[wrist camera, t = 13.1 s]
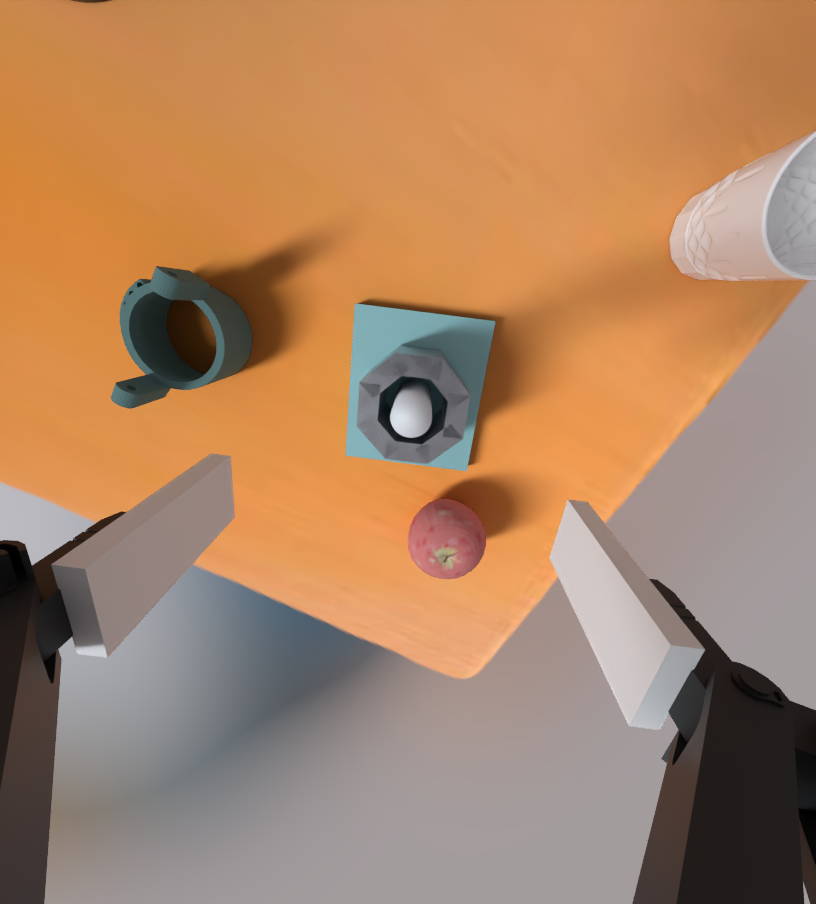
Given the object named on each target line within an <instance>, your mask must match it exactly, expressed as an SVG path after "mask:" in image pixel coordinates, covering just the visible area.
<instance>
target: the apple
mask: <svg viewBox="0 0 816 904" xmlns="http://www.w3.org/2000/svg"><path fill="white" fill-rule="evenodd" d="M485 547H486V534H485V530H484V526H483V524H482V522H481V520H480V519H479V517H478V516H477V514H476V513H474V512H473V511H472V510H471V509H470V508H469V507H468V506H466V505H464V504H462V503H460V502H457V501H454V500H450V499H438V500H435V501H432V502H430V503H428V504H427V505H426V506H424V507H423V508H422V509H421V510H420V511H419V512H418V513H417V514H416V516H415V517H414V519H413V521H412V523H411V525H410V530H409V535H408V549H409V552H410V555H411V558H412V560H413V561H414V562H415V564H416V565H417V566H418V567H419V568H420V569H421V570H422V571H423V572H425V573H427V574H429V575H430V576H433V577H436V578H439V579H455V578H458V577H461V576H464V575H465V574H467V573H468V572H470V571H472V570H473V569H474V568H475V567H476V566H477V565H478V563H479V562H480V560H481V558H482V556H483V554H484V550H485Z"/></svg>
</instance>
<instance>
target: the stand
mask: <svg viewBox="0 0 816 904" xmlns="http://www.w3.org/2000/svg"><path fill="white" fill-rule="evenodd" d="M495 322H496V321H491V320H483V319H475V318H468V317H460V316H452V315H444V314H436V313H428V312H420V311H412V310H405V309H397V308H389V307H381V306H373V305H365V304H356V303H355V311H354V327H353V343H352V360H351V376H350V392H349V409H348V425H347V442H346V456H354V457H362V458H369V459H377V460H385V461H393V462H400V463H408V464H416V465H424V466H431V467H439V468H447V469H454V470H462V471H467V467H468V462H469V457H470V452H471V446H472V441H473V436H474V431H475V426H476V420H477V415H478V410H479V405H480V400H481V395H482V389H483V384H484V379H485V374H486V369H487V363H488V358H489V353H490V348H491V343H492V338H493V332H494V327H495ZM400 345H408V346H417V347H425V348H434V349H441V351H442V352H443V354H444V355H445V356H446V358H447V359H448V360H449V362H450V363H451V364H452V366H453V367H454V368H455V370H456V371H457V372H458V374H459V375H460V376H461V378H462V379H463V380H464V382H465V384H466V386H467V389H468V391H469V393H470V395H471V396H470V402H469V408H468V413H467V419H466V425H465V431H464V436H463V440H461V441H460V442H458V443H457V444H455V445H454V446H453V447H451V448H450V449H448V450H447V451H446V452H444V453H443V454H441V455H440V456H438V457H437V458H436V459H434V460H433V461H431V462H430V463H429V464H424V463H415V462H407V461H399V460H391V459H385V458H384V457H383V456H382V455H381V454H380V452H379V451H378V450H377V449H376V448H375V447H374V446H373V444H372V443H371V442H370V441H369V440H368V439H367V438H366V436H365V435H364V434H363V433H362V432H361V431H360V430H359V428H358V427H357V412H358V396H359V382H360V381H361V380H362V379H363V378H364V376H365V375H366V374H367V373H368V372H369V371H370V370H371V369H372V368H373V367H375V366H376V365H377V364H378V363H379V362H381V361H382V360H383V359H384V358H385V357H387V356H388V355H389V354H390V353H391V352H393V351H394V350H395V349H396V348H397V347H399V346H400ZM386 403H387V404H388V405H389V407H390V408H391V409H392V410H391V414H390V421H391V424H392V426H393V428H394V430H395V431H396V432H397V433H399V434H400V435H402V436H404V437H408V438H414V437H418V436H421V435H423V434H424V433H425V432H426V431H427V430H428V429H429V427H430V425H431V422H432V416H433V415H434V414H435V413H437V412H438V411H439V410H441V409H442V403H443V395H442V393H441V392H440V391H439V389H438V388H437V387H436V385H435V384H434V383H433V382H432V380H431V379H424V378H416V377H408V376H401V377H400V378H398V379H397V380H396V381H395V382H393V383H392V384H391V385H390V386H388V387H387V394H386Z"/></svg>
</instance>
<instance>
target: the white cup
mask: <svg viewBox="0 0 816 904" xmlns="http://www.w3.org/2000/svg"><path fill="white" fill-rule="evenodd" d="M669 242H670V252H671V259H672V261H673V262H674V263H675V265H676V266H677V268H678V269H679V270H680V272H681V273H682V274H685V275H687V276H690V277H692V278H695V279H697V280H711V279H718V280H726V281H781V280H816V130H814V131H812V132H810V133H808V134H806V135H804V136H802V137H800V138H798V139H796V140H794V141H792V142H790V143H788V144H786V145H784V146H782V147H780V148H778V149H776V150H774V151H772V152H770V153H768V154H766V155H764V156H762V157H760V158H759V159H757V160H755V161H753V162H751V163H749V164H747V165H746V166H744V167H742V168H740V169H738V170H737V171H735V172H733V173H731V174H729V175H727V176H726V177H725V178H723V179H722V180H720V181H718V182H716V183H714V184H712V185H710V186H709V187H707V188H706V189H704V190H702V191H701V192H699V193H698V194H696V195H694V196H693V197H691V199H690V200H689V201H688V202H687V204H686V205H685V206H684V208H683V209H682V210H681V212H680V213H679V214H678V215H677V217H676V219H675V222H674V225H673V229H672V232H671V235H670V238H669Z"/></svg>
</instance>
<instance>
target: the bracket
mask: <svg viewBox="0 0 816 904" xmlns="http://www.w3.org/2000/svg"><path fill="white" fill-rule="evenodd" d="M174 300H191V301H193V302H194V303H195V304H196V305H197V306H198V307H199V308H200V309H201V310H202V311H203V312H204V313H205V315H206V316H207V317H208V319H209V321H210V323H211V325H212V327H213V330H214V333H215V337H216V343H217V344H216V356H215V360H214V362H213V365H212V367H211V368H210V369H209V371H208V372H207V373H206V374H204V373H201V372H199V371H197V370H195V369H193V368H192V367H190V366H189V365H187V364H186V363H185V362H184V361H183V360H182V359H181V358H180V357H179V355H178V354H177V353H176V352H175V350H174V348H173V346H172V344H171V342H170V339H169V336H168V331H167V315H168V311H169V309H170V306H171V304H172V303H173V301H174ZM120 326H121V332H122V336H123V340H124V343H125V346H126V348H127V350H128V352H129V354H130V356H131V357H132V359H133V360H134V362H135V363H136V364H137V365H138V367H139V368H140V369H141V370H142V371H143V372H144V373H145V374H146V375H145V376H141V377H137V378H133V379H129V380H125V381H121V382H117V383H116V384H115V387H114V390H113V393H112V396H111V399H112V401H113V402H114V403H116V404H117V405H120V406H122V407H125V408H135V407H138V406H141V405H143V404H146V403H149V402H152V401H155V400H158V399H161V398H163V397H165V396H166V394H167V393H168V391H169V390H170V389H171V388H174V389H180V390H191V389H195V388H199V387H202V386H205V385H207V384H210V383H213V382H216V381H218V380H221V379H224V378H227V377H229V376H232V375H234V374H235V373H237V372H238V371H240V370H241V369H242V368H243V367H244V365H245V364H246V363H247V361H248V359H249V357H250V354H251V350H252V331H251V328H250V324H249V321H248V319H247V317H246V315H245V313H244V312H243V310H242V309H241V307H240V306H239V305H238V304H237V302H236V301H235V300H233V299H232V298H230V297H229V296H227V295H226V294H224V293H223V292H221V291H220V290H218V289H216V288H215V287H211V286H209V283H207V282H206V281H204V280H203V279H201V278H200V277H198V276H197V275H195V274H194V273H192V272H190V271H187V270H180V269H173V268H166V267H159V266H156V268H155V271H154V274H153V277H152V280H148V279H139V280H138V281H136V282H135V283H134V284H133V285H132V286H131V287H130V288H129V289H128V291H127V292H126V294H125V296H124V298H123V301H122V303H121V309H120Z"/></svg>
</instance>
